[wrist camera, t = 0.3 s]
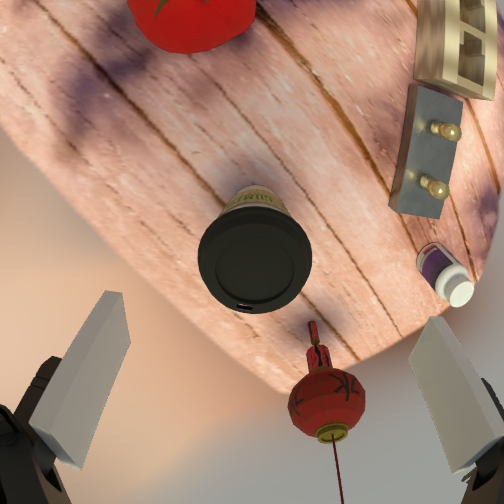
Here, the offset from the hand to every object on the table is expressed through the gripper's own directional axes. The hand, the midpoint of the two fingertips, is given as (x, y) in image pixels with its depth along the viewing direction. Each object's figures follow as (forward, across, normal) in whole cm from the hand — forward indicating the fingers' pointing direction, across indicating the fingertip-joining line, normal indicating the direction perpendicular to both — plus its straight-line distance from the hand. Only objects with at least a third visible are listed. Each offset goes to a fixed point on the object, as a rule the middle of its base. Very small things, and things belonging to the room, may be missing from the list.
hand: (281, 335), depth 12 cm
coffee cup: (+27, -1, -4) cm, 28 cm away
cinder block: (+27, +20, +23) cm, 41 cm away
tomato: (+28, -9, +19) cm, 35 cm away
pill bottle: (+27, +26, -9) cm, 39 cm away
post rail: (+27, +20, +6) cm, 34 cm away
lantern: (+27, +10, -22) cm, 36 cm away
